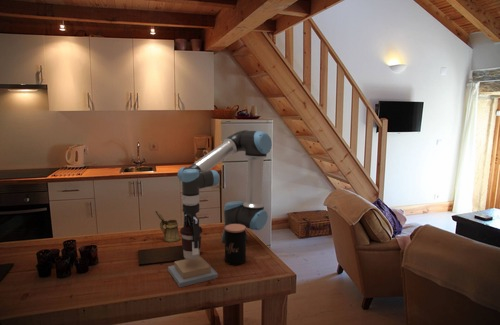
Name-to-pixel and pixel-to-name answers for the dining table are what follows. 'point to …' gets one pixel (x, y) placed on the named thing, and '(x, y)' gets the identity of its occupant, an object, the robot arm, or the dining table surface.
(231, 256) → the coffee jar
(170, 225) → the brass coffee pot
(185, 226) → the coffee cup
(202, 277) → the base
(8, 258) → the dining table surface
